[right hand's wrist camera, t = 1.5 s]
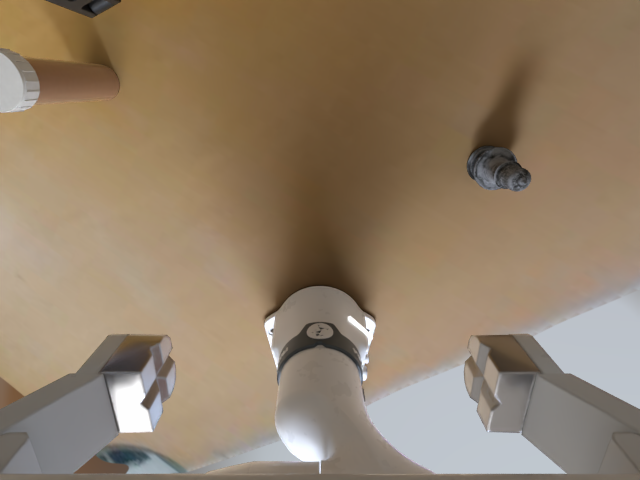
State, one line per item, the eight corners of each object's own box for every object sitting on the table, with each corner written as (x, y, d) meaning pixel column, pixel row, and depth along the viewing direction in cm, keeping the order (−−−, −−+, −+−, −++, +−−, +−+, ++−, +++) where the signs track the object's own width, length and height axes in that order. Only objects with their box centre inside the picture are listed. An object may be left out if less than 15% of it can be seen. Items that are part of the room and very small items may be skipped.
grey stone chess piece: (456, 168, 57) (489, 188, 46) (485, 135, 55) (527, 147, 44) (485, 191, 58) (524, 217, 47) (514, 159, 56) (562, 178, 45)
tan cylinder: (115, 106, 54) (17, 115, 36) (82, 91, 53) (-34, 93, 36) (123, 73, 52) (25, 67, 35) (89, 57, 51) (-28, 43, 34)
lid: (35, 121, 38) (18, 123, 36) (-24, 95, 37) (-45, 96, 35) (46, 65, 36) (28, 64, 34) (-16, 37, 36) (-38, 34, 33)
